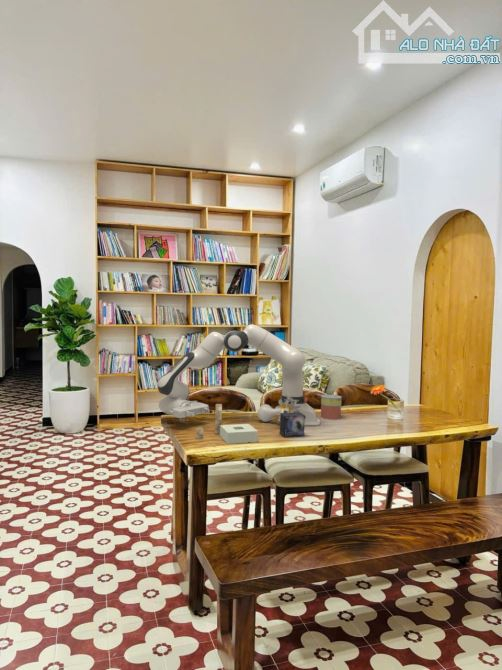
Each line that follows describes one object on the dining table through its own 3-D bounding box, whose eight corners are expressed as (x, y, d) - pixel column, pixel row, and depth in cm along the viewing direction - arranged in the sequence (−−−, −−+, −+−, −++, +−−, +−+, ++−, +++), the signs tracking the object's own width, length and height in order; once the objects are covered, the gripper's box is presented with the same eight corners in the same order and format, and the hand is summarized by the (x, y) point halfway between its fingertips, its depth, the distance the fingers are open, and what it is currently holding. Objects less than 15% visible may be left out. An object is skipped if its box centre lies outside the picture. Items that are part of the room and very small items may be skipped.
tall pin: (221, 432, 231) (222, 404, 230) (220, 434, 228) (221, 405, 227) (215, 432, 231) (216, 403, 230) (214, 434, 228) (215, 404, 227)
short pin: (203, 437, 222) (203, 428, 221) (202, 439, 219) (202, 429, 218) (197, 437, 222) (197, 427, 222) (195, 439, 219) (196, 429, 219)
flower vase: (258, 435, 254) (292, 432, 236) (248, 401, 254) (281, 396, 236) (275, 426, 263) (309, 424, 245) (265, 394, 263) (298, 389, 245)
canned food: (342, 420, 264) (343, 398, 263) (321, 419, 264) (322, 397, 264) (339, 415, 275) (339, 394, 275) (319, 415, 276) (320, 394, 275)
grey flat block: (248, 434, 230) (248, 423, 230) (257, 442, 217) (258, 431, 216) (219, 435, 226) (220, 425, 225) (227, 444, 212) (227, 432, 212)
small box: (283, 437, 225) (284, 415, 225) (279, 434, 231) (279, 412, 231) (304, 436, 228) (305, 414, 227) (299, 433, 234) (300, 411, 234)
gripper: (166, 405, 237) (185, 409, 228) (197, 400, 253) (216, 403, 244) (166, 418, 238) (185, 423, 229) (197, 411, 253) (215, 416, 244)
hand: (201, 413), depth 237 cm, fingers open, 8 cm apart
